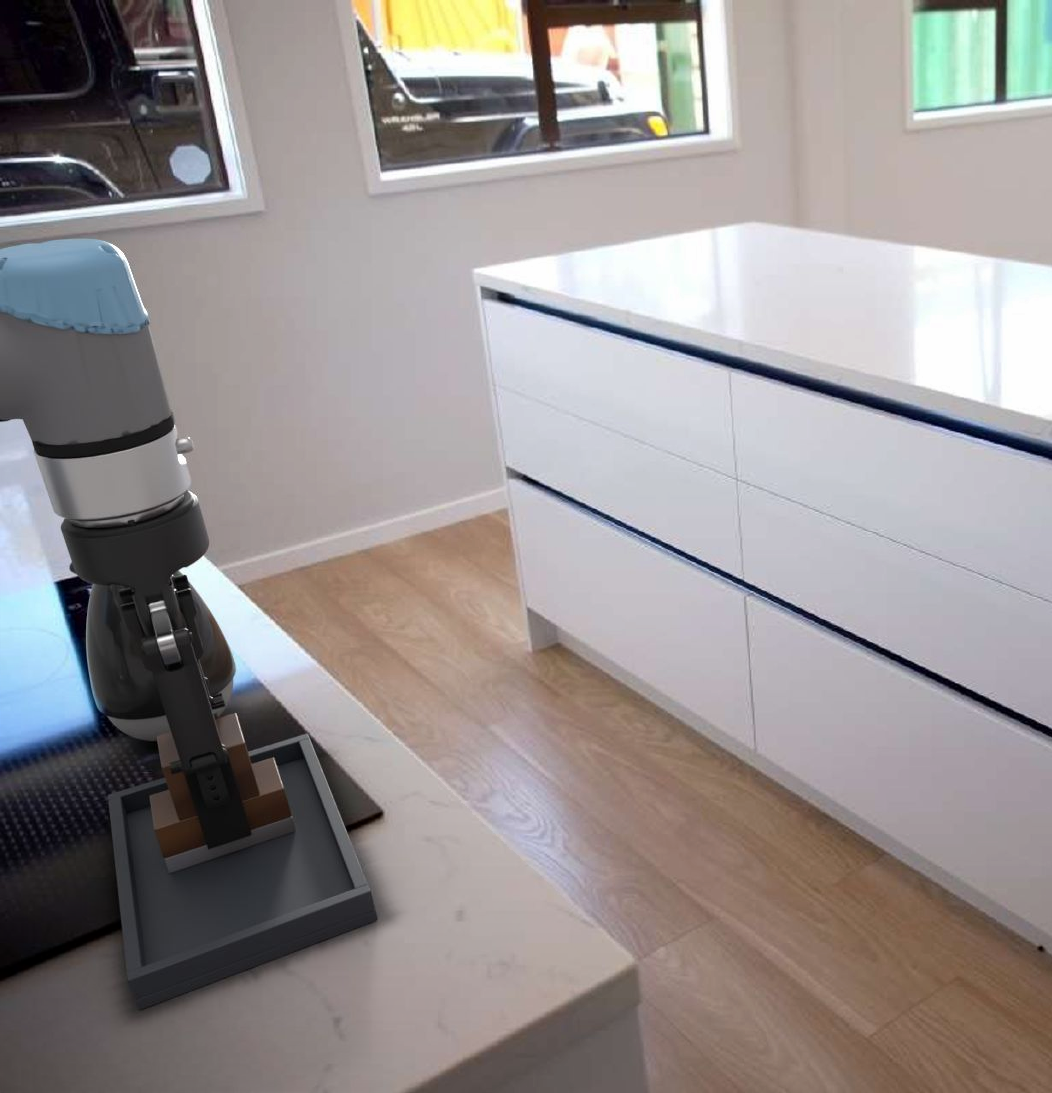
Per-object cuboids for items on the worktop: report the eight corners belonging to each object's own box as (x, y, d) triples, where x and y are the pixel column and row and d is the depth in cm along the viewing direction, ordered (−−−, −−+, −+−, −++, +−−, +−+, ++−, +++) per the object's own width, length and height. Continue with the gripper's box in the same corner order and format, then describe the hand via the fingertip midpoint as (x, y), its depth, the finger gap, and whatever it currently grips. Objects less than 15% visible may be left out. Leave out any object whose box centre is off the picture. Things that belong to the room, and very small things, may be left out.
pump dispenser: (165, 686, 106) (113, 524, 100) (272, 694, 104) (227, 528, 98) (77, 754, 97) (15, 579, 91) (193, 763, 95) (138, 585, 89)
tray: (378, 919, 78) (370, 890, 77) (138, 1010, 72) (127, 980, 71) (314, 758, 95) (307, 732, 94) (116, 820, 89) (107, 794, 88)
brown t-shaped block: (296, 831, 85) (269, 735, 82) (169, 873, 82) (135, 775, 79) (286, 798, 89) (259, 705, 86) (163, 838, 85) (131, 742, 82)
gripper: (210, 536, 70) (304, 869, 79) (182, 450, 84) (264, 742, 93) (59, 570, 66) (176, 913, 76) (56, 475, 81) (155, 775, 90)
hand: (224, 818), depth 85 cm, fingers closed on brown t-shaped block, 4 cm apart
